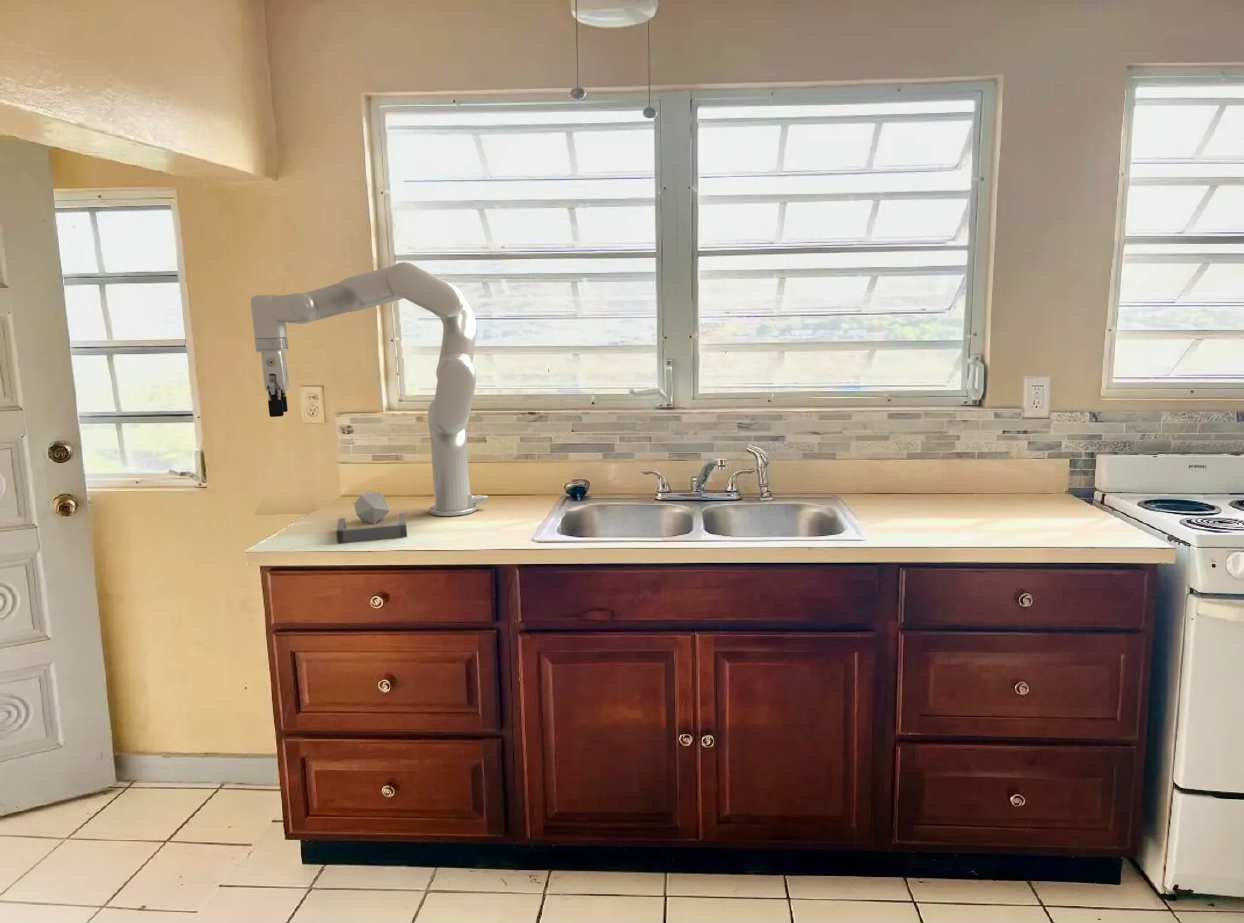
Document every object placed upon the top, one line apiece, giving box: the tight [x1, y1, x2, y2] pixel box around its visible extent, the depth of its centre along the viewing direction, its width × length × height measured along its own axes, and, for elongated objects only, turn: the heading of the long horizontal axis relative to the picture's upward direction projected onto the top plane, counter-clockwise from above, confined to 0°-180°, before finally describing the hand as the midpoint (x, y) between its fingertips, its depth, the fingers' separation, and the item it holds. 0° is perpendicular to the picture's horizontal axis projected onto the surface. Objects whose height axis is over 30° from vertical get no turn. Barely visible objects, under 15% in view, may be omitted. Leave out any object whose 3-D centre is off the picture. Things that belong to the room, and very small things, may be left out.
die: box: [353, 490, 390, 525], centre depth 218 cm, size 8×9×10 cm
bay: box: [335, 512, 408, 544], centre depth 206 cm, size 16×13×3 cm
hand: (279, 414), depth 210 cm, fingers open, 9 cm apart
